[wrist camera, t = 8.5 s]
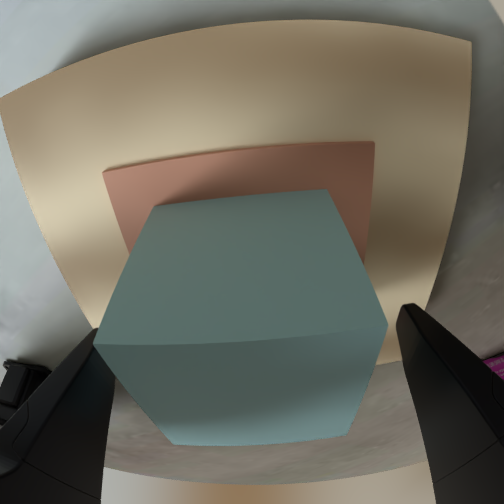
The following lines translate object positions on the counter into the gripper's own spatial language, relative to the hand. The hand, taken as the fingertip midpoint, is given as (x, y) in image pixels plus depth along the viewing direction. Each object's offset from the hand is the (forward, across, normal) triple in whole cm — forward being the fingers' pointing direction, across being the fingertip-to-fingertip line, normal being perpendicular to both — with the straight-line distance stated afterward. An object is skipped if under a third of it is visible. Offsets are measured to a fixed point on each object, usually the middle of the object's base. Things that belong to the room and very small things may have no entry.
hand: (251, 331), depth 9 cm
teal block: (+3, 0, 0) cm, 3 cm away
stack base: (+6, 0, 0) cm, 6 cm away
